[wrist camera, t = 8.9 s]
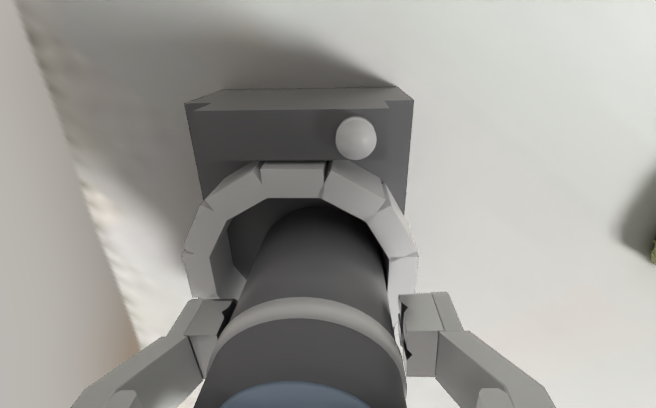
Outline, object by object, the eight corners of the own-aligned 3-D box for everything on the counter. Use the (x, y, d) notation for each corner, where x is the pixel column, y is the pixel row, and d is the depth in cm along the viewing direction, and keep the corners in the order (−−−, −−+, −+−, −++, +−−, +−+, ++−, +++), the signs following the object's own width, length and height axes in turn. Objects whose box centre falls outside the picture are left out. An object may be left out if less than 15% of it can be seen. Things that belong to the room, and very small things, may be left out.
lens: (263, 306, 15) (203, 501, 9) (252, 203, 13) (160, 361, 6) (378, 310, 15) (404, 512, 8) (387, 206, 13) (432, 372, 6)
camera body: (217, 89, 15) (143, 115, 10) (403, 86, 15) (437, 111, 9) (249, 294, 21) (212, 387, 15) (388, 297, 20) (404, 394, 14)
